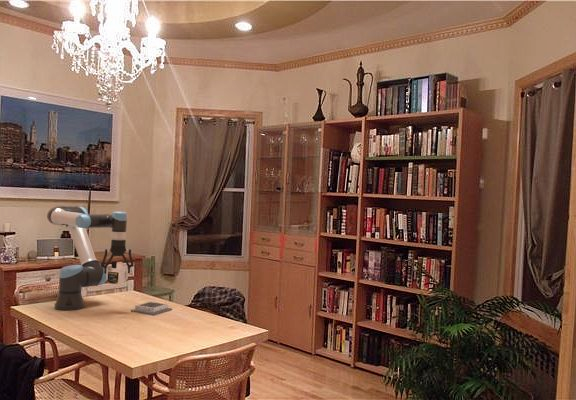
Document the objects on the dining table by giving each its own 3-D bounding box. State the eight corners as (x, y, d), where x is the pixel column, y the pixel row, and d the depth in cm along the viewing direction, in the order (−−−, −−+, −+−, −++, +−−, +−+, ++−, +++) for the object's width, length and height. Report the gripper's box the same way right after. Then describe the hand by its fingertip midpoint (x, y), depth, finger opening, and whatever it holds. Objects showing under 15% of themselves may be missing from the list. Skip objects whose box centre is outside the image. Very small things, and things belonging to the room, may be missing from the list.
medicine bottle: (107, 283, 259) (107, 261, 259) (115, 281, 265) (116, 260, 266) (117, 284, 257) (118, 263, 257) (126, 282, 263) (127, 261, 263)
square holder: (130, 311, 262) (131, 305, 262) (149, 306, 276) (149, 300, 276) (154, 315, 255) (154, 309, 255) (172, 309, 270) (172, 304, 270)
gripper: (96, 239, 254) (95, 280, 253) (140, 240, 262) (138, 280, 262) (97, 238, 261) (95, 278, 260) (139, 239, 269) (137, 277, 269)
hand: (116, 279), depth 261 cm, fingers closed on medicine bottle, 10 cm apart
